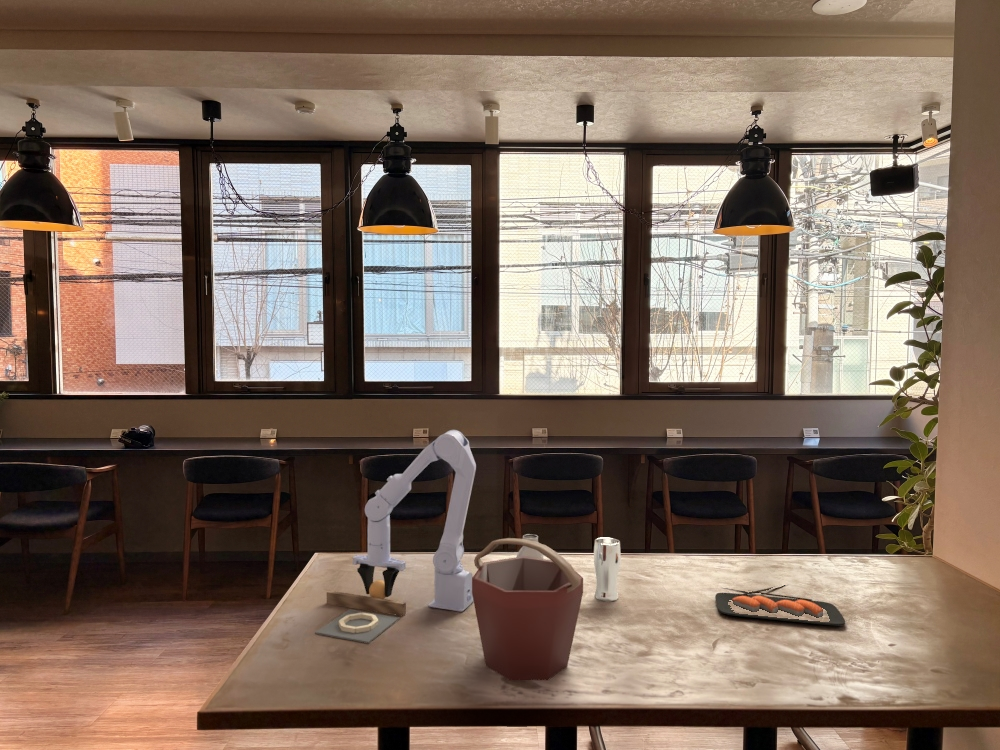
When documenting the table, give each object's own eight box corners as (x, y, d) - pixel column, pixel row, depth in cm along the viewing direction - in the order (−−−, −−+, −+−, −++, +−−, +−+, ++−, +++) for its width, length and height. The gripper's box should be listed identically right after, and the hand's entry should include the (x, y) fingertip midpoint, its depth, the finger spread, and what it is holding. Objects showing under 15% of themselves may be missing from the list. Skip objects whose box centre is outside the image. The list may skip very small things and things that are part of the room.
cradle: (399, 619, 157) (399, 613, 157) (369, 643, 144) (369, 637, 144) (349, 610, 162) (349, 605, 162) (315, 633, 149) (315, 627, 149)
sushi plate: (718, 620, 160) (718, 604, 160) (709, 578, 189) (709, 565, 189) (849, 633, 153) (849, 617, 153) (818, 588, 182) (819, 574, 182)
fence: (405, 614, 160) (405, 602, 160) (403, 616, 159) (403, 604, 159) (329, 602, 168) (329, 590, 168) (326, 603, 166) (326, 592, 166)
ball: (392, 597, 171) (392, 578, 171) (382, 604, 166) (382, 585, 166) (375, 595, 173) (375, 576, 172) (365, 601, 168) (365, 582, 168)
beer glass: (618, 593, 176) (619, 537, 175) (621, 602, 169) (621, 545, 168) (592, 591, 176) (593, 536, 176) (593, 601, 169) (594, 544, 169)
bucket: (450, 654, 139) (450, 538, 138) (526, 627, 153) (527, 521, 152) (527, 702, 120) (529, 568, 120) (607, 666, 135) (608, 546, 134)
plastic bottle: (541, 624, 155) (542, 541, 154) (513, 621, 156) (514, 539, 155) (545, 613, 161) (546, 533, 160) (518, 611, 163) (519, 531, 162)
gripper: (411, 541, 170) (411, 592, 171) (362, 535, 175) (362, 585, 176) (398, 548, 164) (397, 602, 164) (348, 542, 168) (348, 594, 169)
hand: (378, 594), depth 169 cm, fingers closed on ball, 5 cm apart
